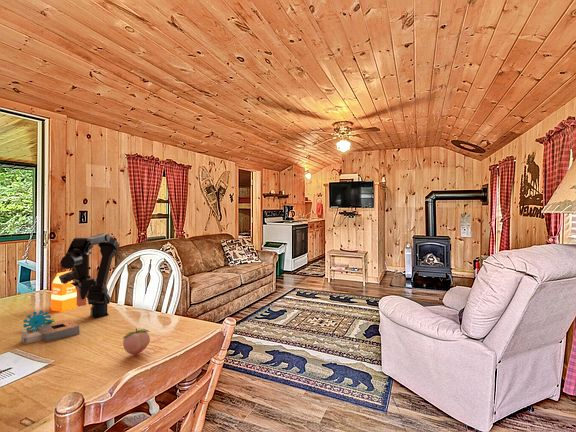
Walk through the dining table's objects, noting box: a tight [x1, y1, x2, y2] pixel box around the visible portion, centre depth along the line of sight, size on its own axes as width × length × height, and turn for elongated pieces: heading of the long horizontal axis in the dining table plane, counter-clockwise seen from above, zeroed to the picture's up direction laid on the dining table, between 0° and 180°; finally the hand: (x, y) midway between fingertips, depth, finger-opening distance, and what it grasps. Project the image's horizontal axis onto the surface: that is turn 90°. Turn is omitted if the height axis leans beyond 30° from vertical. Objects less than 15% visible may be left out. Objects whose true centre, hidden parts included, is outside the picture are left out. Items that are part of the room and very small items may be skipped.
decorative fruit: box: [122, 328, 151, 356], centre depth 119 cm, size 9×8×10 cm
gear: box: [23, 310, 55, 333], centre depth 142 cm, size 11×6×10 cm
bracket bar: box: [21, 328, 43, 346], centre depth 128 cm, size 6×4×5 cm, turn 141°
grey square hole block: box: [36, 319, 80, 343], centre depth 136 cm, size 12×12×4 cm
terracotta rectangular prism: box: [76, 287, 87, 307], centre depth 144 cm, size 3×3×9 cm
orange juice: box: [50, 270, 78, 313], centre depth 169 cm, size 8×9×20 cm
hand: (81, 298), depth 145 cm, fingers closed on terracotta rectangular prism, 3 cm apart
